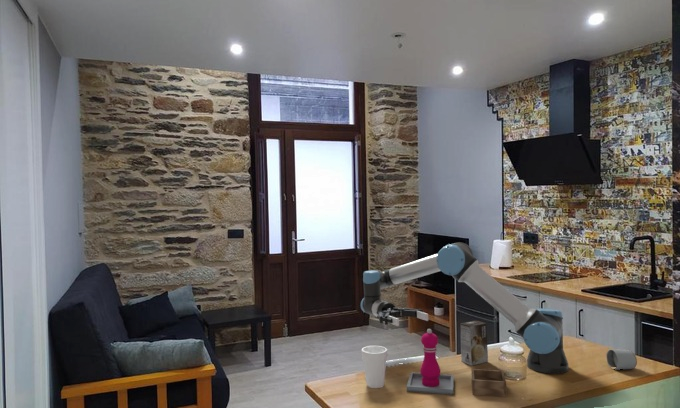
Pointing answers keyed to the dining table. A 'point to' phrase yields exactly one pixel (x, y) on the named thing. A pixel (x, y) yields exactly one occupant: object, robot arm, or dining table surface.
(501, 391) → the wooden box
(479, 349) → the coffee box
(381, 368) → the foam cup
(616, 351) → the grey slotted cylinder
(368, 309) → the robot arm
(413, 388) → the slate tray
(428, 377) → the pepper mill
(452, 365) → the dining table surface
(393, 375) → the dining table surface
